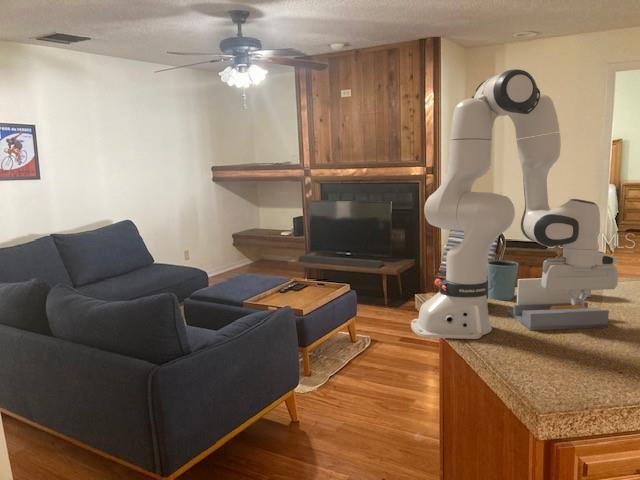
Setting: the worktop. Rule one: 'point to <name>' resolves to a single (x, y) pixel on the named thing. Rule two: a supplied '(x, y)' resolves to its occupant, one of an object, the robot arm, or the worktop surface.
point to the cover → (540, 293)
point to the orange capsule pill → (567, 307)
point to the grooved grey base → (559, 316)
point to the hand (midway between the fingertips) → (577, 304)
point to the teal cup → (502, 279)
